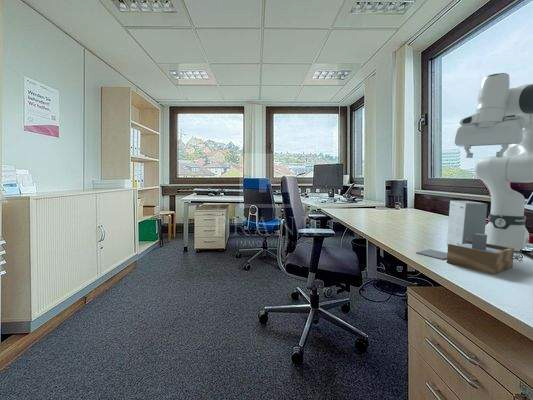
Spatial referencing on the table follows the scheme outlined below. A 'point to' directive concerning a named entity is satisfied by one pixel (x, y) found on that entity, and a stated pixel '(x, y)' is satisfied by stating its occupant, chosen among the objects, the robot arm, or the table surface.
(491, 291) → the table surface
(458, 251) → the walnut box
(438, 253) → the felt mat
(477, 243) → the cover plate
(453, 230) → the hard drive box
